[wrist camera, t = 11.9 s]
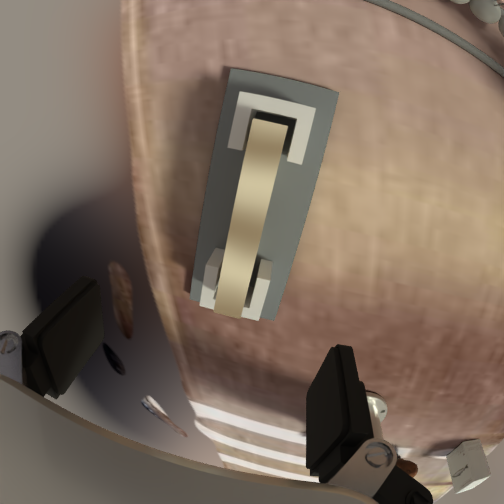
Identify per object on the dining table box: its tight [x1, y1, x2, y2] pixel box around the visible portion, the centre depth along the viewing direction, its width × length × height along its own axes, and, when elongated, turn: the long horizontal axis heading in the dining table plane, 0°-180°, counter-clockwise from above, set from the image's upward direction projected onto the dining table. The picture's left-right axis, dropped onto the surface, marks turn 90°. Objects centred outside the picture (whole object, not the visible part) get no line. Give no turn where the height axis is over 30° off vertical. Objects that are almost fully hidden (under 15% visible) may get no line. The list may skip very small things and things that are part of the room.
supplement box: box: [446, 439, 491, 494], centre depth 41 cm, size 7×7×13 cm
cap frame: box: [190, 68, 339, 321], centre depth 27 cm, size 25×10×5 cm, turn 168°
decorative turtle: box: [396, 458, 418, 478], centre depth 44 cm, size 10×15×8 cm, turn 146°
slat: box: [213, 118, 288, 319], centre depth 25 cm, size 16×2×7 cm, turn 168°
